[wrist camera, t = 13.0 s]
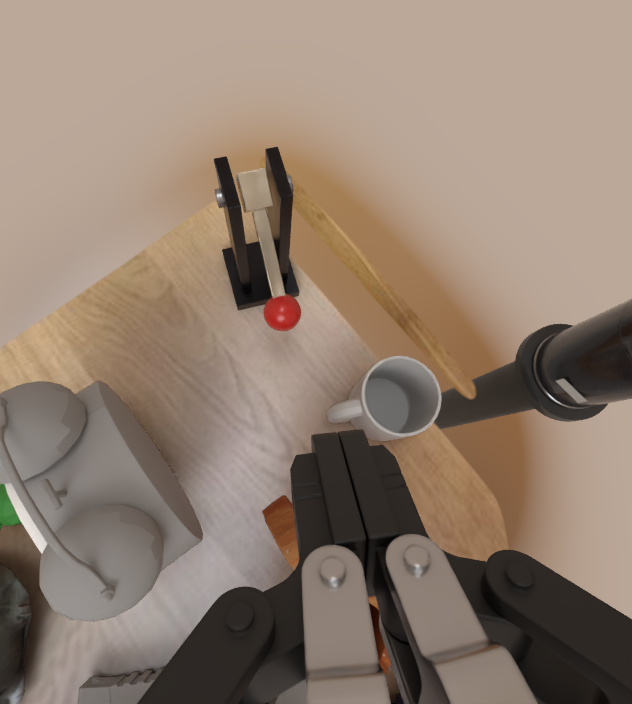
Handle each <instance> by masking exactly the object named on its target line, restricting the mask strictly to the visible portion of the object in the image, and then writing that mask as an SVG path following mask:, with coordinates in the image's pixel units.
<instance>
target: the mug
mask: <svg viewBox="0 0 632 704" xmlns="http://www.w3.org/2000/svg"><path fill="white" fill-rule="evenodd" d="M262 512H263V514H264V517H265V521H266V523H267V525H268V527H269V529H270V531H271V533H272V535H273V537H274V539H275V541H276V543H277V545H278V546H279V548H280V550H281V552H282V553H283V555H284V556H285V558H286V559H287V561H288V562H289V564H290V565H291V567H292V568H293V569H294V570H295V569H296V567H297V565H298V562H299V555H298V546H297V538H296V529H295V521H294V513H293V505H292V504H291V502H290V501H289V499H288V498H287V497H286V496H284V495H283V496H281V497H280V498H278V499H277V500H276V501H275V502H273V503H271V504H270V505H269V506H268V507H267V508H265V509H264V510H263V511H262ZM293 572H294V571H293ZM368 601H369V607H370V613H371V618H372V624H373V630H374V636H375V642H376V648H377V654H378V659H379V663H380V666H381V668H382V669H383V671H384V673H385V676H386V673H387V669H388V666H390V665H391V663H390V660H389V657H388V653H387V650H386V647H385V644H384V641H383V638H382V635H381V632H380V628H379V616H380V611H379V607H378V604H377V600H376V596H374V597H368Z"/></svg>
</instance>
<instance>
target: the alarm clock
mask: <svg viewBox="0 0 632 704" xmlns="http://www.w3.org/2000/svg"><path fill="white" fill-rule="evenodd" d="M0 484H5V487H6V491H7V494H8V496H9V498H10V500H11V502H12V504H13V506H14V508H15V511H16V513H17V515H18V517H19V519H20V521H21V523H22V524H23V526H24V527H25V529H26V531H27V532H28V534H29V535H30V537H31V538H32V540H33V542H34V543H35V545H36V546H37V548H38V549H39V551H40V552H41V553H42V555H41V561H40V588H41V590H42V592H43V594H44V596H45V598H46V599H47V601H48V603H49V604H50V606H51V608H52V609H53V610H54V611H56V612H57V613H59V614H61V615H63V616H65V617H66V618H68V619H70V620H80V621H91V622H95V621H99V620H104V619H108V618H112V617H115V616H117V615H119V614H121V613H123V612H124V611H126V610H128V609H130V608H132V607H133V606H135V605H136V604H137V603H138V602H139V601H140V600H141V599H142V598H143V597H144V596H145V595H146V594H147V593H148V592H149V591H150V590H151V589H152V588H153V586H154V584H155V582H156V580H157V578H158V576H159V574H160V572H161V570H163V569H164V568H166V567H167V566H168V565H170V564H171V563H172V562H174V561H175V560H176V559H178V558H179V557H180V556H182V555H183V554H185V553H186V552H187V551H189V550H190V549H191V548H193V547H194V546H195V545H197V544H198V543H199V542H201V541H202V537H203V533H202V529H201V526H200V523H199V521H198V518H197V516H196V514H195V512H194V510H193V508H192V506H191V504H190V502H189V500H188V498H187V496H186V494H185V493H184V491H183V489H182V487H181V486H180V484H179V482H178V480H177V479H176V477H175V475H174V474H173V472H172V470H171V469H170V467H169V465H168V464H167V462H166V461H165V459H164V458H163V456H162V455H161V453H160V451H159V450H158V448H157V447H156V445H155V444H154V442H153V441H152V440H151V438H150V437H149V435H148V434H147V432H146V431H145V429H144V428H143V427H142V425H141V424H140V423H139V421H138V420H137V418H136V417H135V416H134V414H133V413H132V412H131V411H130V409H129V408H128V407H127V406H126V404H125V403H124V402H123V401H122V400H121V398H120V397H119V396H118V395H117V394H116V393H115V392H114V391H113V390H112V389H111V388H110V387H109V386H108V385H107V384H105V383H103V382H101V381H97V382H95V383H93V384H92V385H90V386H88V387H86V388H85V389H83V390H81V391H79V392H78V393H76V394H74V393H73V392H72V391H71V390H70V389H68V388H66V387H64V386H62V385H60V384H56V383H51V382H40V381H38V382H32V383H26V384H22V385H19V386H16V387H14V388H11V389H9V390H7V391H4V392H3V393H1V394H0Z"/></svg>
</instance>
